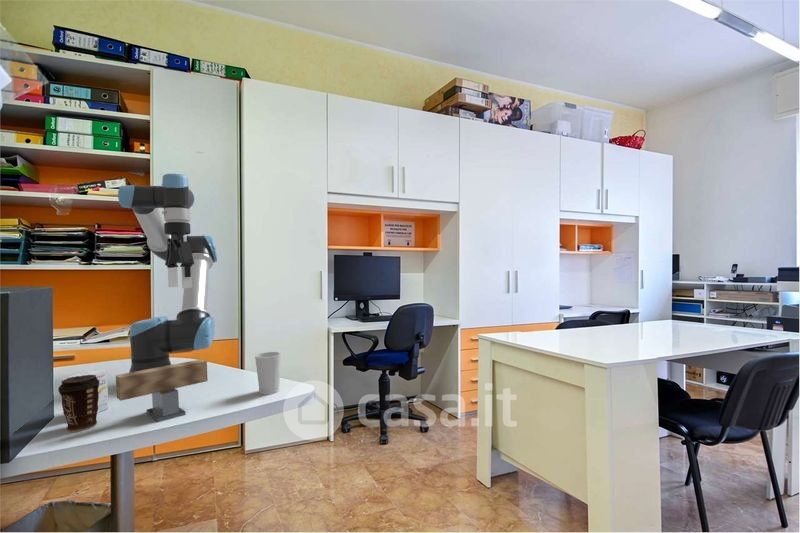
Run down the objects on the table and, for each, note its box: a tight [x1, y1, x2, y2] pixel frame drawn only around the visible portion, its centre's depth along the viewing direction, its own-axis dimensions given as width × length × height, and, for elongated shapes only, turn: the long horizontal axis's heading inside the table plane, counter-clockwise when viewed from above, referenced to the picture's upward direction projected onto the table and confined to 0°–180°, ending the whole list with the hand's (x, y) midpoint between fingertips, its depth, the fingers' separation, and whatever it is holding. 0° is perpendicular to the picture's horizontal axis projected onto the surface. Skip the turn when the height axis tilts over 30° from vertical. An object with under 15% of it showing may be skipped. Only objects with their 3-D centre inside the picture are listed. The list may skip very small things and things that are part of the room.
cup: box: [254, 351, 282, 395], centre depth 133 cm, size 8×8×12 cm
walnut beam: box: [115, 359, 209, 402], centre depth 116 cm, size 22×4×6 cm, turn 135°
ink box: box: [66, 369, 109, 414], centre depth 118 cm, size 9×5×12 cm, turn 168°
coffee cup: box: [58, 375, 99, 433], centre depth 108 cm, size 9×8×13 cm
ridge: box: [145, 388, 187, 423], centre depth 116 cm, size 11×7×7 cm, turn 45°
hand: (180, 287), depth 134 cm, fingers open, 13 cm apart
